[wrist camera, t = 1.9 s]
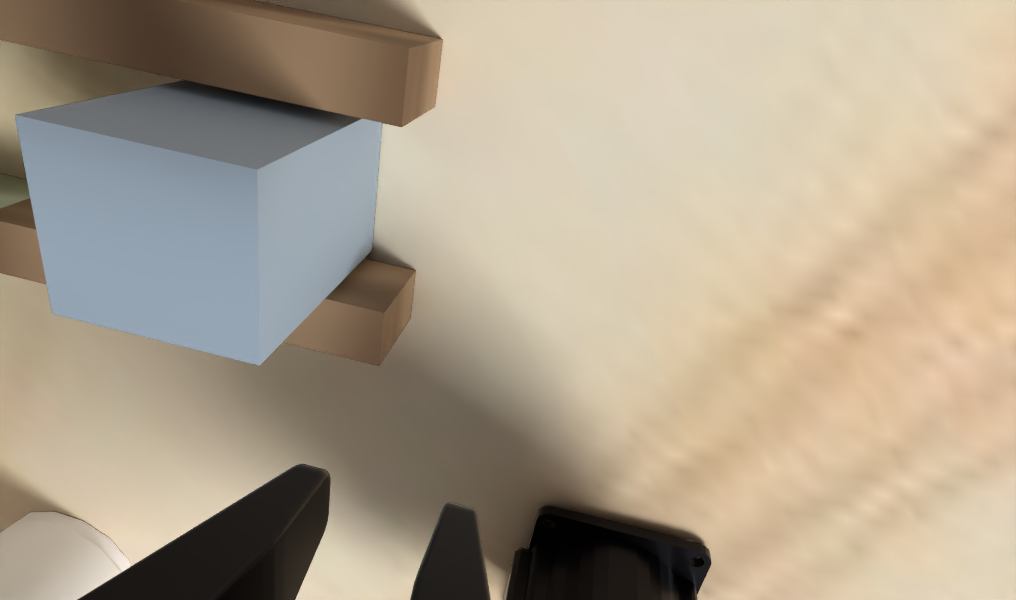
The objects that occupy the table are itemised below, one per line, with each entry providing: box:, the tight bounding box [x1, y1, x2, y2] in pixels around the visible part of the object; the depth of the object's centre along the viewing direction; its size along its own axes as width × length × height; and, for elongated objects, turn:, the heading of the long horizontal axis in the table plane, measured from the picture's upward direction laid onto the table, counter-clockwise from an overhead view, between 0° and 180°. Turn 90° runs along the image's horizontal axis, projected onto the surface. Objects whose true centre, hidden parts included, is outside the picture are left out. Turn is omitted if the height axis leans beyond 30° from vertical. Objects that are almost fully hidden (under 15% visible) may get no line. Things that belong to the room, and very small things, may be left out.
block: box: [15, 80, 382, 366], centre depth 16 cm, size 5×4×7 cm
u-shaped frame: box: [0, 0, 443, 366], centre depth 18 cm, size 19×9×4 cm, turn 80°
